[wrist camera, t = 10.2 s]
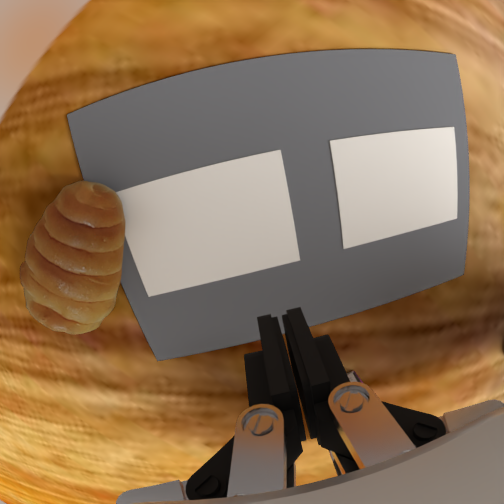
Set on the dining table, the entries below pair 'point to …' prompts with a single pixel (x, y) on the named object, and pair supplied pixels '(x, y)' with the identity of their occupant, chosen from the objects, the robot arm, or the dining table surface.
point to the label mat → (282, 189)
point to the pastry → (75, 259)
